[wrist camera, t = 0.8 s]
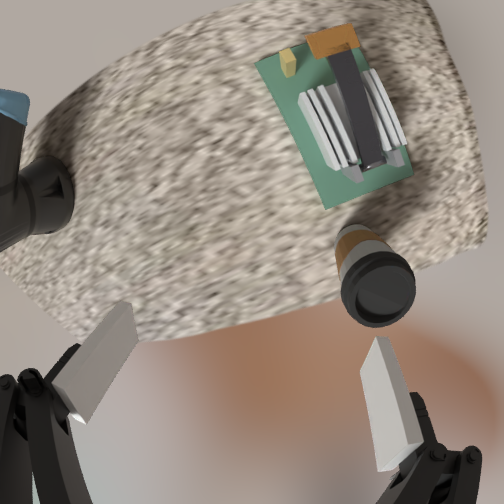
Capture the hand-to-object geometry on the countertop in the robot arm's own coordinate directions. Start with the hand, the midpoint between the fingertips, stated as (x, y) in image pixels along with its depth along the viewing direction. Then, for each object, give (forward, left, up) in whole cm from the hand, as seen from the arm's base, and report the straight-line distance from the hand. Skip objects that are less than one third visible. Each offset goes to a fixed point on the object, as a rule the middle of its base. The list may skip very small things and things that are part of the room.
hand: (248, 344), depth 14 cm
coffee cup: (+12, +3, -27) cm, 30 cm away
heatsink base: (-1, +16, -27) cm, 31 cm away
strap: (-1, +16, -17) cm, 23 cm away
